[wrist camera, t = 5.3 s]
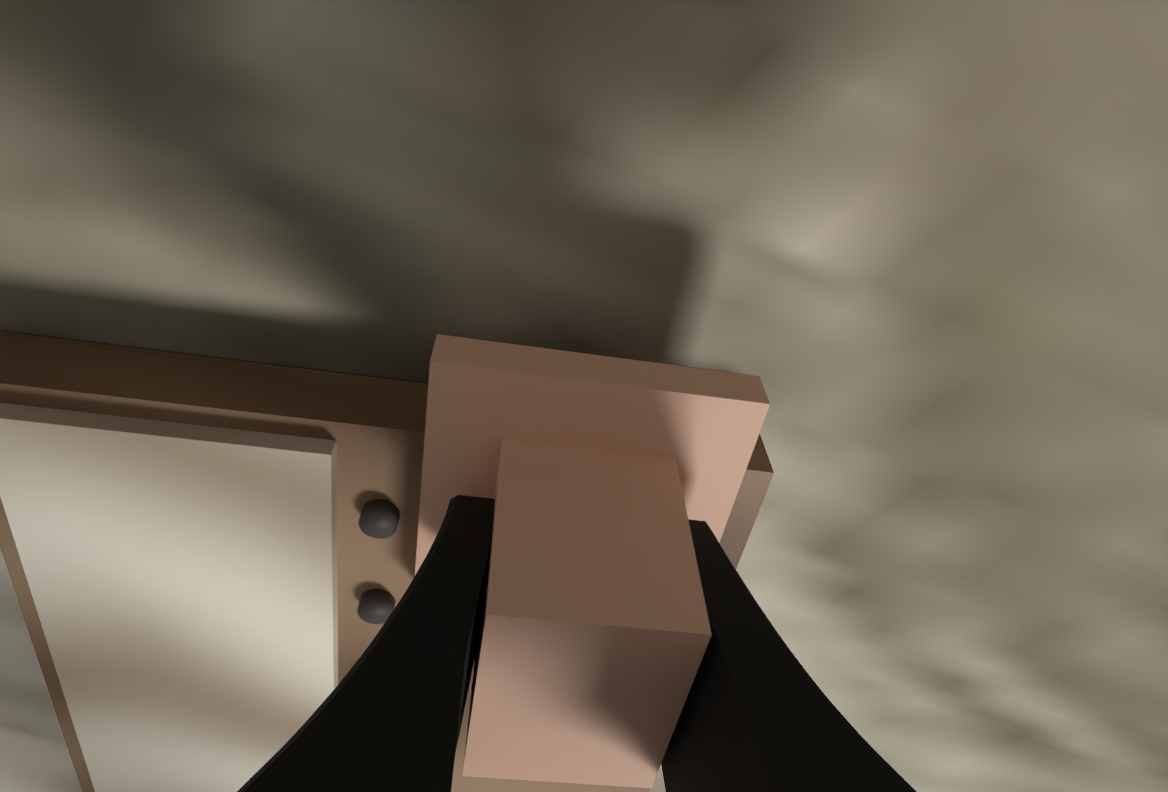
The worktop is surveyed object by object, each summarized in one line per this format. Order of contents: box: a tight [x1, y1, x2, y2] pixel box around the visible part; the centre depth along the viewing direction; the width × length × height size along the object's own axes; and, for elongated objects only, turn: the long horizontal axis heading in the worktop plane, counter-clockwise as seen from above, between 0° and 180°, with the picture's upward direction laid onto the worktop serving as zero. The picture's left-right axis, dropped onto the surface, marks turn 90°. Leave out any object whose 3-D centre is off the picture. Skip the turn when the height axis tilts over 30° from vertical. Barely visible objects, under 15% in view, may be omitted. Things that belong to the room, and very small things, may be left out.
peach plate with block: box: [415, 334, 770, 788], centre depth 12 cm, size 6×5×4 cm
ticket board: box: [0, 331, 774, 792], centre depth 18 cm, size 16×14×2 cm
